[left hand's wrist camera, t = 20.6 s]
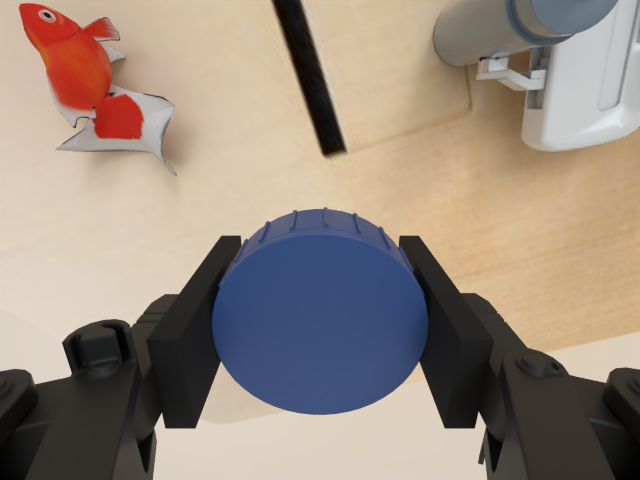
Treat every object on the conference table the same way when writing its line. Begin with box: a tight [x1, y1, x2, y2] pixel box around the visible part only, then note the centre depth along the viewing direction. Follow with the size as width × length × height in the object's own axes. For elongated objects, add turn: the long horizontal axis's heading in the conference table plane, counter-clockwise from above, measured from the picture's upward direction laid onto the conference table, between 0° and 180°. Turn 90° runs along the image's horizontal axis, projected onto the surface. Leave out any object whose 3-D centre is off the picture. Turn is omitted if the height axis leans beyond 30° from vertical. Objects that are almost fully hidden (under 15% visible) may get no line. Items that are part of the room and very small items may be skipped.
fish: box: [19, 3, 177, 176], centre depth 31 cm, size 11×16×10 cm
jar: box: [433, 0, 618, 66], centre depth 25 cm, size 6×6×16 cm
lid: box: [212, 207, 429, 415], centre depth 11 cm, size 6×6×2 cm
